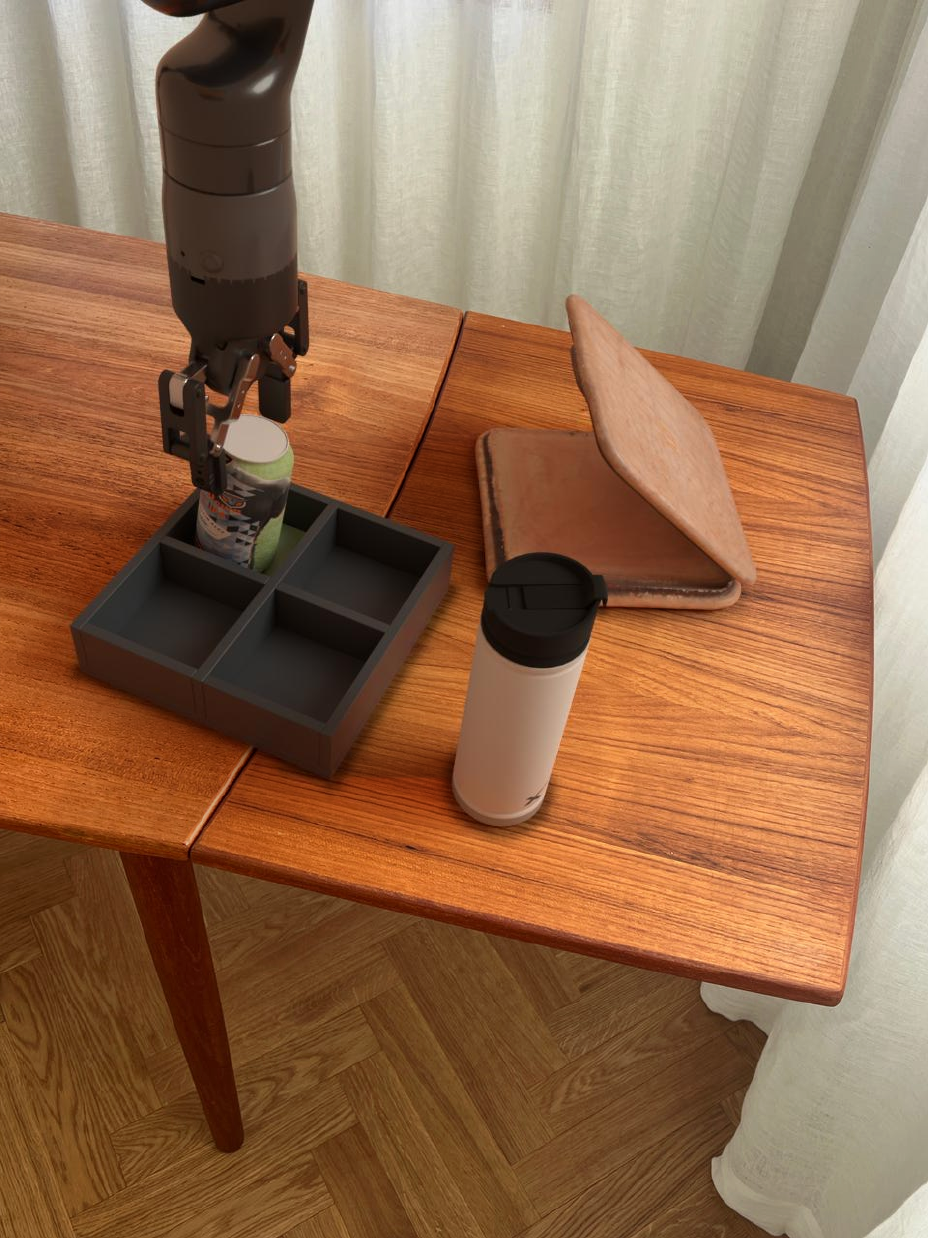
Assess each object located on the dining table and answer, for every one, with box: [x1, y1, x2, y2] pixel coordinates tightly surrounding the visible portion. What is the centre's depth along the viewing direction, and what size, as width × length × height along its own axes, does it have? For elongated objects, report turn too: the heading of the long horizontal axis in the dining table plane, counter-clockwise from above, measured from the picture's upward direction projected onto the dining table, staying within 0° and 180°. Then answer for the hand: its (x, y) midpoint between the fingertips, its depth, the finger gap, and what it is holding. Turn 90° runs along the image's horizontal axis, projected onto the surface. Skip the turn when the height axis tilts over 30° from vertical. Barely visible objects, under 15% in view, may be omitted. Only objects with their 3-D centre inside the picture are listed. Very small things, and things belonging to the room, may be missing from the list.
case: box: [474, 293, 757, 611], centre depth 86 cm, size 20×21×16 cm
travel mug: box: [451, 552, 608, 828], centre depth 67 cm, size 6×7×20 cm
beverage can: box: [195, 413, 295, 573], centre depth 79 cm, size 6×7×12 cm
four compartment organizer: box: [69, 481, 456, 781], centre depth 79 cm, size 19×19×5 cm
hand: (243, 452), depth 77 cm, fingers open, 8 cm apart
